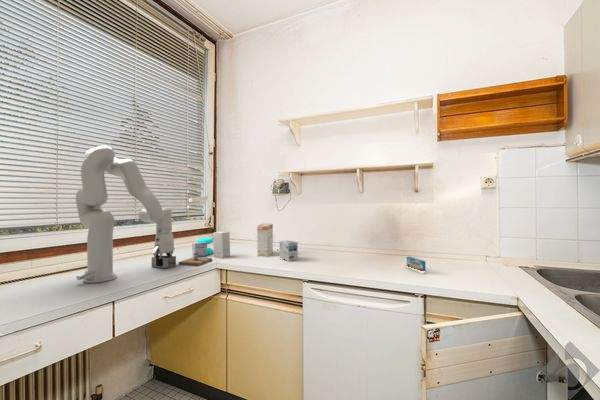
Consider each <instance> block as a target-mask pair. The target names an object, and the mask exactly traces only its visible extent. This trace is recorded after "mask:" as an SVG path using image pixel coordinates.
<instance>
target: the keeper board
mask: <svg viewBox="0 0 600 400" xmlns="http://www.w3.org/2000/svg"><path fill="white" fill-rule="evenodd" d="M212 261H213V258H212V257H198V253H194V257H190V258H187V259H184V260H181V261H178V265H179V266H188V267H200V266H202V265H205V264H207V263H210V262H212Z"/></svg>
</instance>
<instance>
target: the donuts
mask: <svg viewBox="0 0 600 400" xmlns="http://www.w3.org/2000/svg"><path fill="white" fill-rule="evenodd" d="M200 242H206V243H207V245H210V244H212V243H213V238H211V237H200V238H198V239H196V243H200ZM211 254H214V249H213V248H211V247H207V256H208V255H211Z"/></svg>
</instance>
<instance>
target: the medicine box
mask: <svg viewBox="0 0 600 400" xmlns="http://www.w3.org/2000/svg"><path fill="white" fill-rule="evenodd" d="M191 245H192V251H191V252H192V257H191V258H193V257H194V253H198V257H200V258H206V257H208V255H207V248H208V244H207V243H206V242H200V243H197V242H194V243H192V244H191Z"/></svg>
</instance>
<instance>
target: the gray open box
mask: <svg viewBox="0 0 600 400" xmlns="http://www.w3.org/2000/svg"><path fill="white" fill-rule="evenodd" d="M161 259H162V266H161V267H160V266H156V259H155V257H154V256H152V257H151V268H161V269H162V268H163V269H169V268H172V267H173V268H174V267H176V266H177V255H176V256H175V255H172V256H167V255H163V254H162V257H161Z"/></svg>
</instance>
